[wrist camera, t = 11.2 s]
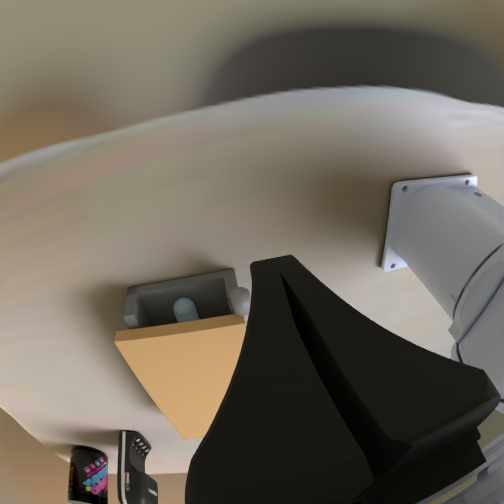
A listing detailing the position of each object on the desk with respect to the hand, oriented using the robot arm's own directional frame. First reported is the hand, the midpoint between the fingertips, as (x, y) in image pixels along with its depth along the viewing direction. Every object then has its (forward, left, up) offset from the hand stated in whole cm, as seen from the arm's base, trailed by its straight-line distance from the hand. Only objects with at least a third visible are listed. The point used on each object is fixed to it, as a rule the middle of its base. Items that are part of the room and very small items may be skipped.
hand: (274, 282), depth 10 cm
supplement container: (+31, +40, -11) cm, 52 cm away
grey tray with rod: (+5, +17, -10) cm, 21 cm away
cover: (+5, +17, -7) cm, 19 cm away
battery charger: (+19, +34, -11) cm, 40 cm away
